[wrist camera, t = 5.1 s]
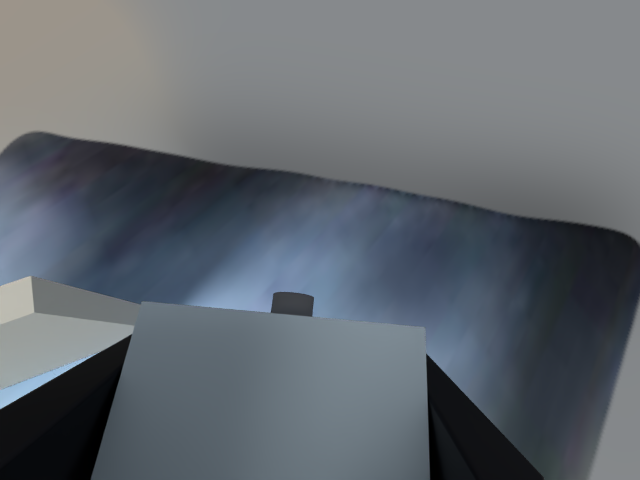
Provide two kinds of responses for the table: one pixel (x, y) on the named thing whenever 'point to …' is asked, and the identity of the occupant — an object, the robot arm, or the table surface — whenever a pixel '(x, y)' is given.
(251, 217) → the table surface
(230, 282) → the table surface
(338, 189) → the table surface
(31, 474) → the robot arm
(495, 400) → the table surface
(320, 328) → the pale grey square box
